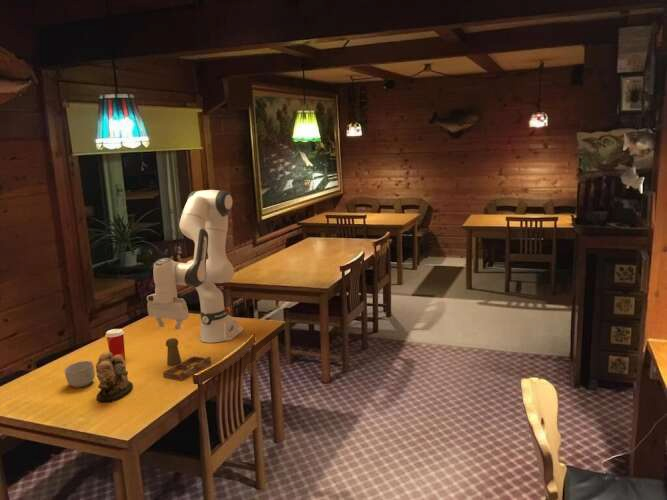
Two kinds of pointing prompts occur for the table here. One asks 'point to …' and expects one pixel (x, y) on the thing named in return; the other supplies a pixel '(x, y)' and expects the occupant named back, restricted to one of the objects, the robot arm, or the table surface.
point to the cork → (173, 352)
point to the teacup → (80, 373)
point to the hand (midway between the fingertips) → (169, 327)
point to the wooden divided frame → (187, 368)
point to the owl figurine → (112, 378)
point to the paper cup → (116, 342)
